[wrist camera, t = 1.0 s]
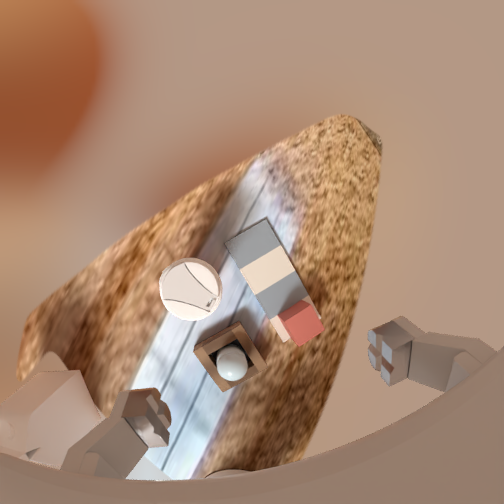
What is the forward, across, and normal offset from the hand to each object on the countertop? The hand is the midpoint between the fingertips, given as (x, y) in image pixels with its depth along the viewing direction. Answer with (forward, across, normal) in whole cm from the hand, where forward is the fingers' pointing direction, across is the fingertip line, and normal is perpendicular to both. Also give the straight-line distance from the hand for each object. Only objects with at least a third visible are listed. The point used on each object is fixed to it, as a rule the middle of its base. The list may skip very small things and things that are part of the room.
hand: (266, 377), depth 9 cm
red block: (+33, +7, -18) cm, 39 cm away
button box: (+32, -5, -21) cm, 39 cm away
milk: (+30, -42, -23) cm, 56 cm away
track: (+36, +5, -11) cm, 38 cm away
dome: (+31, -5, -20) cm, 37 cm away
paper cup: (+36, -7, -7) cm, 37 cm away
